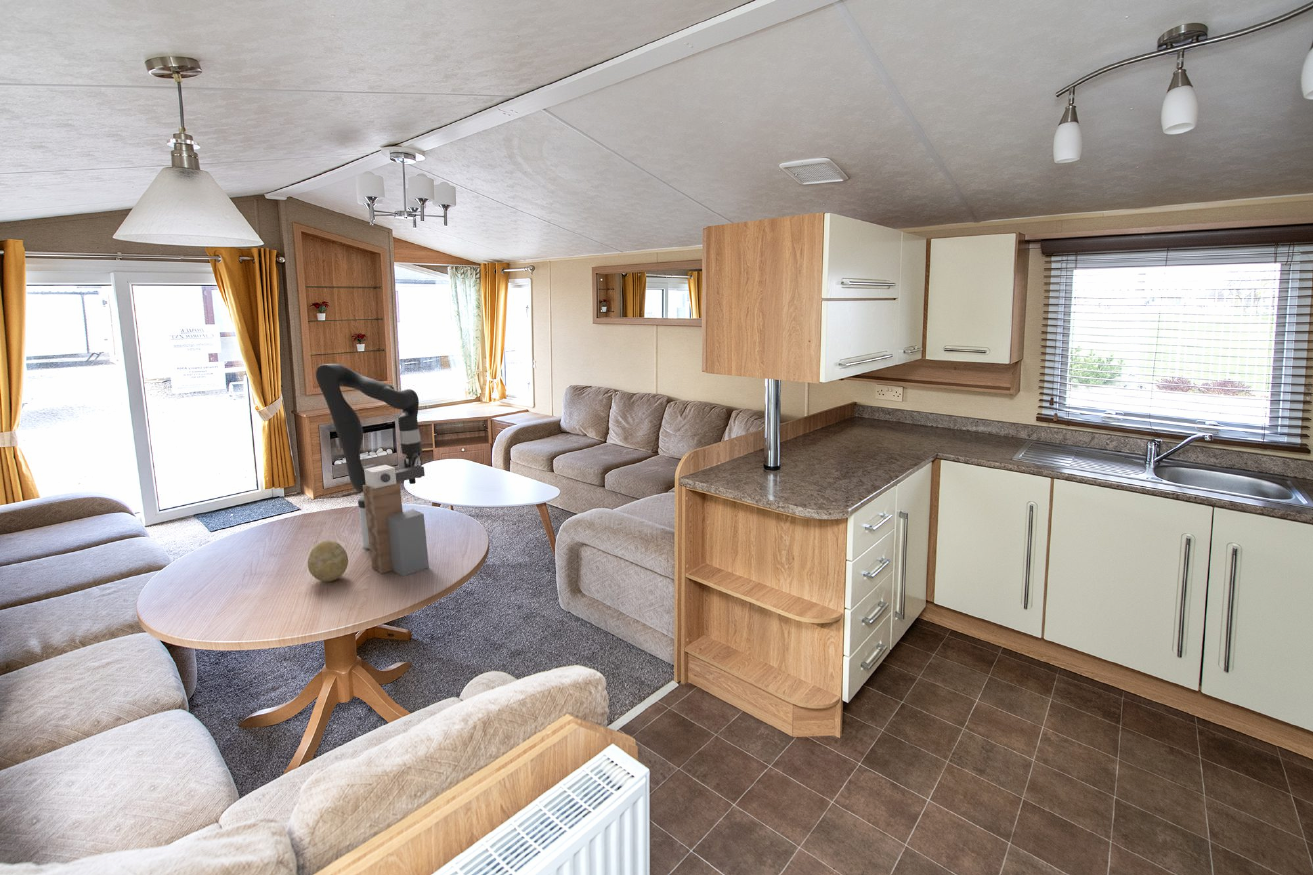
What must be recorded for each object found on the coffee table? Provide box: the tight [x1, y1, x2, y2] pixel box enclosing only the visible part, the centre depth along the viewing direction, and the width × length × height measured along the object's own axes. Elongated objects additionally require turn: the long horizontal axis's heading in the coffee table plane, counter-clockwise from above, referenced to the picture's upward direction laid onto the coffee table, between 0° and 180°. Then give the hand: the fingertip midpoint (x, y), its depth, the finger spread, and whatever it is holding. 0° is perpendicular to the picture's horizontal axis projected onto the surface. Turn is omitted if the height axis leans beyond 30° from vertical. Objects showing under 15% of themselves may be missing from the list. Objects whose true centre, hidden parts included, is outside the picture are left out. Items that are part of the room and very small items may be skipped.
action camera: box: [364, 464, 426, 489], centre depth 232 cm, size 9×20×6 cm, turn 138°
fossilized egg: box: [307, 539, 349, 583], centre depth 223 cm, size 13×13×15 cm
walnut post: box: [362, 482, 404, 575], centre depth 232 cm, size 8×10×32 cm
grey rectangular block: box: [387, 509, 430, 577], centre depth 231 cm, size 8×10×21 cm
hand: (415, 480), depth 249 cm, fingers open, 8 cm apart
